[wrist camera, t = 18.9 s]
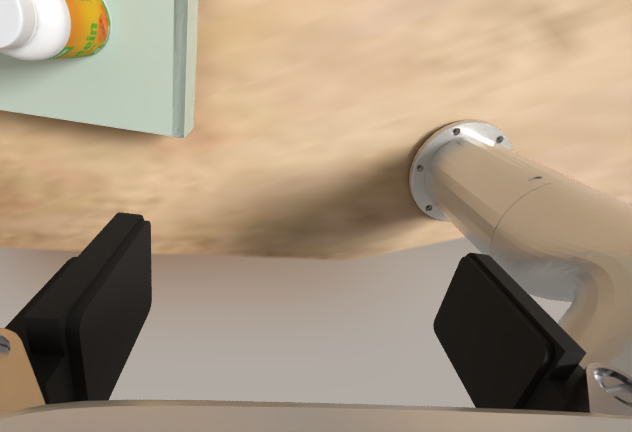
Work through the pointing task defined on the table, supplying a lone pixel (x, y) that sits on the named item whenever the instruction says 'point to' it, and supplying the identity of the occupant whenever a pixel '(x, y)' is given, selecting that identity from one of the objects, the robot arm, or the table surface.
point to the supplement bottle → (53, 28)
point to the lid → (118, 73)
